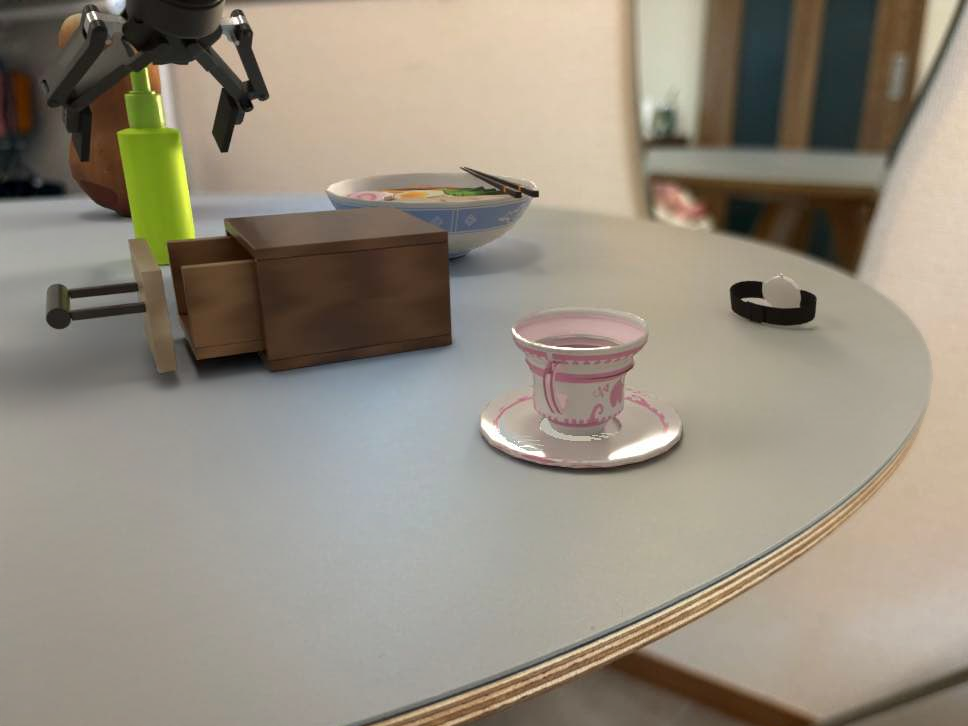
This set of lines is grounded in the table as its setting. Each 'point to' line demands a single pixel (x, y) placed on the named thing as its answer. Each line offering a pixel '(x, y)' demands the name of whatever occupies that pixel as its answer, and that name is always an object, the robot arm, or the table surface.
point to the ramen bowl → (444, 202)
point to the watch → (774, 302)
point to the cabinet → (347, 284)
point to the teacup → (582, 392)
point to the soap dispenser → (154, 171)
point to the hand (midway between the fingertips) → (153, 146)
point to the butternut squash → (105, 137)
